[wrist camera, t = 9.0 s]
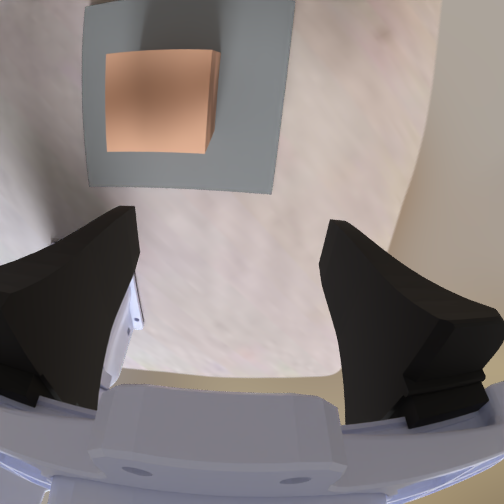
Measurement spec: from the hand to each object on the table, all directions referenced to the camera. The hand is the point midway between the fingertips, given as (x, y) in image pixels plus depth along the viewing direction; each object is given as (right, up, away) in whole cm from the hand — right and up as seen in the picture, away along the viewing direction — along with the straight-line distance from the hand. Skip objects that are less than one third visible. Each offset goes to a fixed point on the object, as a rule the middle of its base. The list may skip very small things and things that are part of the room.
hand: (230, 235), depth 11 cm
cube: (-4, +9, +5) cm, 11 cm away
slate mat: (-4, +9, +6) cm, 12 cm away
